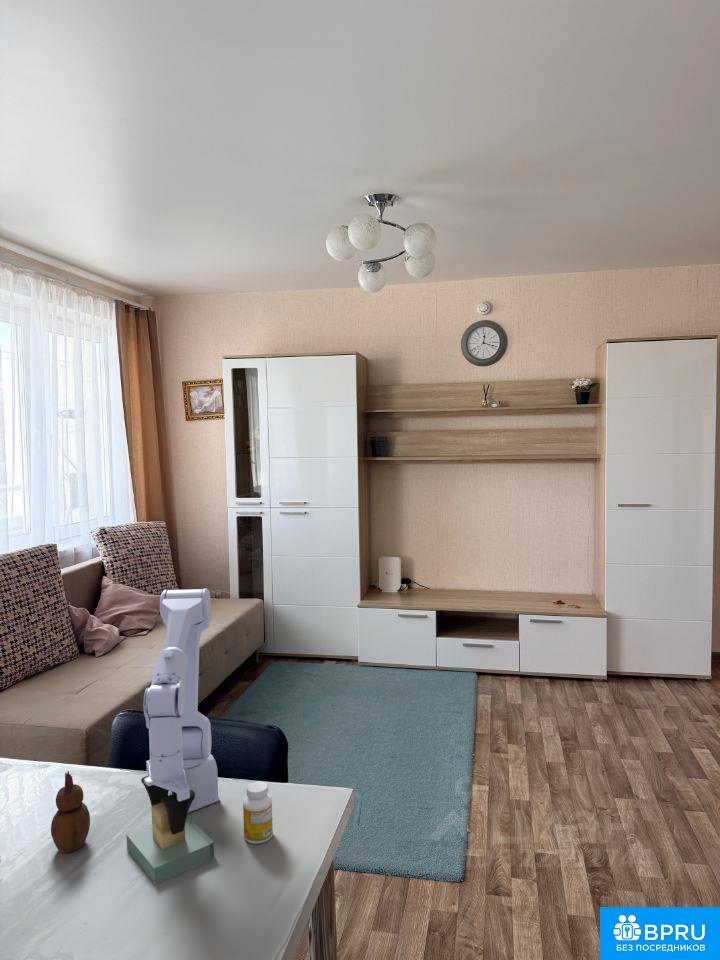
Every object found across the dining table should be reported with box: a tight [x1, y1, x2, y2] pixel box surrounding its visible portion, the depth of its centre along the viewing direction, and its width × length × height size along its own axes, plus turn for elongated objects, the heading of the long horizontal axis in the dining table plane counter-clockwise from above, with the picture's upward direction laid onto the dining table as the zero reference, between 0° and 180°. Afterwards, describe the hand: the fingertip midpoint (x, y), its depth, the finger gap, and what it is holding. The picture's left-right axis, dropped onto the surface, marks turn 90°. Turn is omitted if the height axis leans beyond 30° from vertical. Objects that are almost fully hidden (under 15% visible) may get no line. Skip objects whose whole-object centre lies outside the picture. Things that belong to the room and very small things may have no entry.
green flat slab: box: [125, 816, 215, 884], centre depth 124 cm, size 11×13×3 cm
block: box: [150, 803, 185, 849], centre depth 123 cm, size 4×4×6 cm
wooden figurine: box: [50, 770, 91, 853], centre depth 126 cm, size 7×6×15 cm
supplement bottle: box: [242, 781, 274, 845], centre depth 128 cm, size 5×5×10 cm
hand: (168, 822), depth 123 cm, fingers open, 7 cm apart
